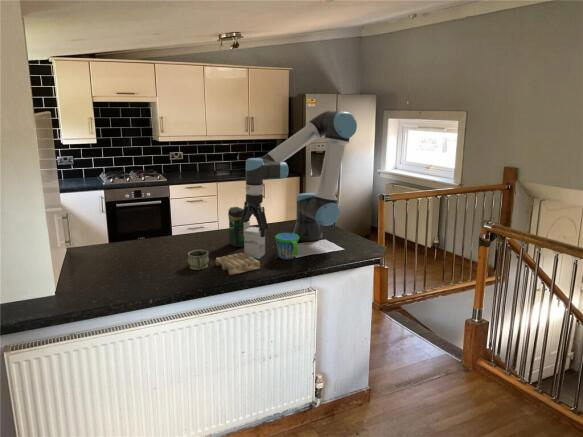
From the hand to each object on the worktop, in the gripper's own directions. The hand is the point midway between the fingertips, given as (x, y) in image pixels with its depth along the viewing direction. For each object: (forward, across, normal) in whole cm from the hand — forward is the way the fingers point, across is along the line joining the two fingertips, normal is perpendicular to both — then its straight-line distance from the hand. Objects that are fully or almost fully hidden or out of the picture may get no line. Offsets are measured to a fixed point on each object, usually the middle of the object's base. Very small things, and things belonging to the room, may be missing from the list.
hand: (253, 239), depth 210 cm
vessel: (+8, -1, -26) cm, 28 cm away
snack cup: (+8, +10, +12) cm, 17 cm away
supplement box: (+8, 0, +1) cm, 8 cm away
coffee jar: (+8, -18, +2) cm, 20 cm away
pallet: (+8, +8, -12) cm, 17 cm away
